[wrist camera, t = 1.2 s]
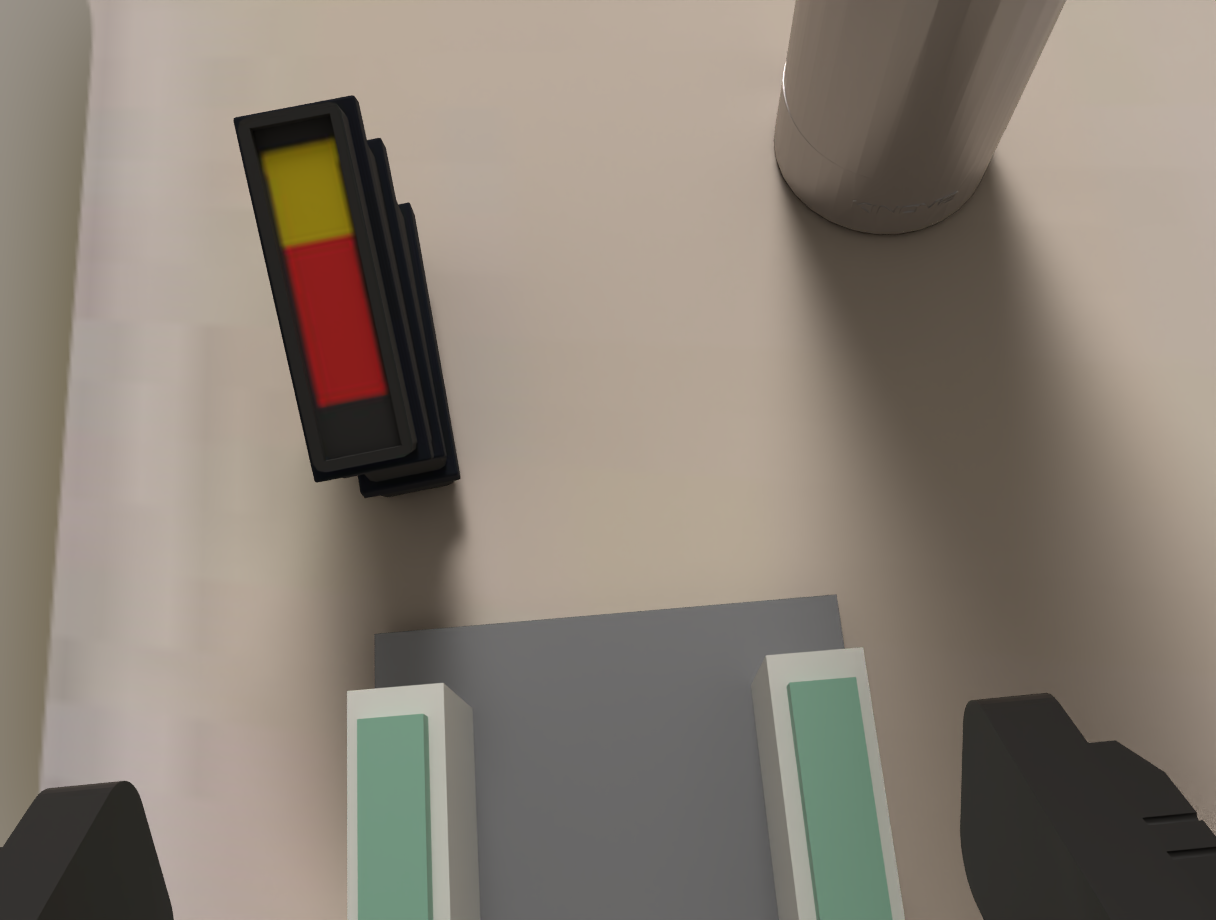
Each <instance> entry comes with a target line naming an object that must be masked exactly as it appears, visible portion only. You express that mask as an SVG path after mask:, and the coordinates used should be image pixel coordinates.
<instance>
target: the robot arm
mask: <svg viewBox="0 0 1216 920" xmlns="http://www.w3.org/2000/svg"><path fill="white" fill-rule="evenodd" d="M1065 2H1066V0H796V2H795V9H794V15H793V21H792V27H791V33H790V40H789V46H788V52H787V58H786V63H785V68H784V74H783V80H782V87H781V93H780V99H779V106H778V112H777V119H776V126H775V135H774V145H775V153H776V160H777V162H778V165H779V167H780V170H781V172H782V175H783V177H784V179H785V180H786V182H787V183H788V185H789V186H790V188H791V189H792V191H793V192H794V193H795V195H796V196H797V197H798V198H799V199H800V200H802V201H803V202H804V203H805V204H806V205H807V206H808V207H809V208H810V209H811V210H813V211H814V212H816V213H818V214H819V215H821V216H822V217H824V218H826V219H827V220H829V221H831V222H833V223H836V224H838V225H841V226H844V227H846V228H849V229H851V230H857V231H862V232H867V233H873V234H900V233H905V232H910V231H916V230H921V229H923V228H926V227H928V226H931V225H933V224H936V223H938V222H941V221H942V220H944V219H945V218H947V217H948V216H950V215H951V214H953V213H954V212H956V211H957V210H959V209H960V208H961V206H962V205H963V204H964V203H965V202H966V201H967V200H968V199H969V198H970V197H971V196H972V195H973V193H974V191H975V190H976V188H977V186H978V184H979V183H980V181H981V179H982V177H983V175H984V173H985V171H986V169H987V167H988V165H989V162H990V160H991V158H992V156H993V154H994V152H995V150H996V148H997V145H998V143H999V141H1000V139H1001V137H1002V135H1003V133H1004V131H1005V129H1006V127H1007V125H1008V123H1009V121H1010V119H1011V117H1012V115H1013V112H1014V110H1015V108H1016V106H1017V104H1018V102H1019V100H1020V98H1021V95H1022V93H1023V91H1024V89H1025V87H1026V85H1027V83H1028V81H1029V78H1030V76H1031V74H1032V72H1033V70H1034V68H1035V66H1036V64H1037V61H1038V59H1039V57H1040V55H1041V53H1042V51H1043V49H1044V46H1045V44H1046V42H1047V40H1048V38H1049V36H1050V34H1051V32H1052V29H1053V27H1054V25H1055V23H1056V21H1057V19H1058V17H1059V15H1060V12H1061V10H1062V8H1063V6H1064V4H1065ZM960 836H961V848H962V855H963V861H964V866H965V871H966V875H967V879H968V882H969V886H970V889H971V892H972V895H973V897H974V899H975V902H976V904H977V906H978V908H979V910H980V913H981V915H982V917H983V919H984V920H1216V836H1215V835H1214V834H1213V832H1212V831H1211V830H1210V829H1209V827H1208V826H1207V825H1206V824H1205V822H1204V821H1203V820H1201V821H1199V820H1198V818H1197V812H1196V811H1195V810H1194V809H1193V807H1192V806H1191V805H1190V803H1189V802H1188V801H1187V800H1186V798H1185V797H1184V796H1183V795H1182V793H1181V792H1180V791H1179V790H1178V788H1177V787H1176V786H1175V785H1174V783H1173V782H1172V781H1171V780H1170V778H1169V777H1168V776H1167V775H1166V773H1165V772H1163V771H1162V770H1160V769H1159V768H1157V767H1156V766H1154V765H1153V764H1151V763H1149V762H1148V761H1146V760H1145V759H1143V758H1142V757H1140V756H1139V755H1137V754H1136V753H1134V752H1132V751H1131V750H1129V749H1128V748H1126V747H1125V746H1123V745H1122V744H1120V743H1119V742H1117V741H1105V742H1095V743H1088V742H1087V741H1086V740H1085V738H1084V737H1083V735H1082V734H1081V733H1080V731H1079V730H1078V728H1077V727H1076V726H1075V724H1074V723H1073V722H1072V720H1071V719H1070V717H1069V716H1068V715H1067V713H1066V712H1065V711H1064V709H1063V708H1062V706H1061V705H1060V704H1059V702H1058V701H1057V700H1056V699H1055V697H1053V696H1052V695H1051V694H1048V693H1041V694H1031V695H1021V696H1011V697H1001V698H990V699H980V700H971V701H969V702H968V704H967V705H966V708H965V712H964V721H963V750H962V785H961V820H960ZM0 920H174V919H173V911H172V906H171V902H170V899H169V895H168V892H167V888H166V885H165V881H164V878H163V874H162V871H161V867H160V864H159V860H158V857H157V853H156V850H155V846H154V843H153V839H152V836H151V832H150V829H149V825H148V822H147V818H146V815H145V811H144V808H143V804H142V801H141V798H140V795H139V793H138V791H137V790H136V788H135V787H134V785H132V784H131V783H130V782H127V781H119V782H109V783H98V784H88V785H78V786H68V787H58V788H48V789H45V790H43V791H42V792H41V793H40V794H38V796H37V797H36V798H35V799H34V801H33V803H32V804H31V806H30V807H29V809H28V810H27V811H26V813H25V814H24V816H23V817H22V819H21V820H20V822H19V823H18V825H17V826H16V828H15V830H14V831H13V832H12V834H11V835H10V837H9V838H8V840H7V842H6V843H5V845H4V846H3V847H0Z"/></svg>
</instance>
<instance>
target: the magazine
mask: <svg viewBox="0 0 1216 920" xmlns="http://www.w3.org/2000/svg"><path fill="white" fill-rule="evenodd" d="M233 121H234V125H235V130H236V134H237V139H238V143H239V147H240V152H241V156H242V161H243V165H244V170H245V174H246V179H247V183H248V188H249V192H250V196H251V201H252V205H253V210H254V214H255V219H256V223H257V228H258V232H259V236H260V241H261V245H262V250H263V254H264V259H265V263H266V268H267V272H268V276H269V281H270V285H271V290H272V294H273V299H274V303H275V308H276V312H277V316H278V321H279V325H280V330H281V334H282V339H283V343H284V348H285V352H286V356H287V361H288V365H289V370H290V374H291V379H292V383H293V388H294V392H295V396H296V401H297V405H298V410H299V414H300V419H301V423H302V428H303V432H304V436H305V441H306V445H307V450H308V454H309V459H310V463H311V468H312V472H313V476H314V481H315V482H322V481H327V480H332V479H337V478H347V477H352V476H357V475H358V479H359V486H360V492H361V494H362V495H363V496H364V498H369V497H374V496H379V495H381V496H385V497H390V496H395V495H400V494H405V493H410V492H415V491H420V490H425V489H430V488H435V487H440V486H445V485H449V484H450V483H452V482H453V481H454V480H459V479H460V471H459V466H458V460H457V454H456V449H455V443H454V437H453V431H452V426H451V420H450V414H449V409H448V403H447V397H446V391H445V386H444V380H443V374H442V369H441V363H440V357H439V351H438V346H437V340H436V334H435V329H434V323H433V317H432V311H431V306H430V300H429V294H428V289H427V283H426V277H425V271H424V266H423V260H422V254H421V249H420V243H419V237H418V231H417V226H416V220H415V215H414V213H413V210H412V207H411V205H410V203H404V204H399V205H398V203H397V201H396V197H395V192H394V187H393V182H392V177H391V172H390V167H389V162H388V157H387V151H386V147H385V146H384V144H383V142H382V140H381V138H376V139H371V140H367V139H366V134H365V130H364V125H363V120H362V116H361V111H360V106H359V102H358V100H357V99H356V98H355V97H354V96H352V95H351V96H346V97H341V98H336V99H330V100H325V101H320V102H315V103H309V104H304V105H299V106H294V107H288V108H283V109H278V110H272V111H267V112H262V113H257V114H251V115H246V116H241V117H236V118H234V120H233Z"/></svg>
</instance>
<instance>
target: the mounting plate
mask: <svg viewBox="0 0 1216 920" xmlns="http://www.w3.org/2000/svg"><path fill="white" fill-rule="evenodd" d="M347 920H905V916H904V910H903V903H902V897H901V890H900V884H899V877H898V871H897V864H896V858H895V851H894V845H893V838H892V832H891V825H890V819H889V812H888V806H887V799H886V793H885V786H884V780H883V773H882V767H881V760H880V754H879V747H878V741H877V734H876V728H875V721H874V715H873V708H872V702H871V695H870V689H869V682H868V676H867V669H866V663H865V656H864V649H863V647H859V648H847V649H845V648H844V642H843V635H842V628H841V621H840V615H839V608H838V601H837V595H825V596H813V597H802V598H790V599H778V600H767V601H755V602H743V603H731V604H720V605H708V606H696V607H685V608H673V609H661V610H649V611H638V612H626V613H614V614H603V615H591V616H579V617H568V618H556V619H544V620H532V621H521V622H509V623H497V624H486V625H474V626H462V627H451V628H439V629H427V630H415V631H404V632H392V633H380V634H375V689H364V690H352V691H347Z"/></svg>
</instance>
